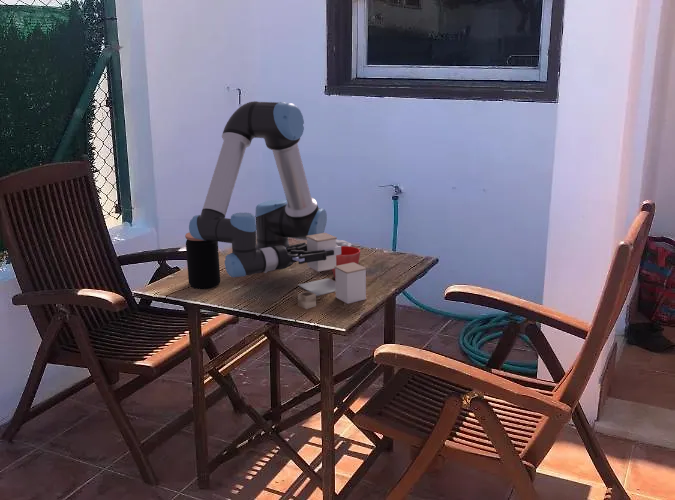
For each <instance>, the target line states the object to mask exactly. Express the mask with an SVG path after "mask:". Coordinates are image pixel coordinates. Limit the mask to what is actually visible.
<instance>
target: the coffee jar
mask: <svg viewBox="0 0 675 500" xmlns="http://www.w3.org/2000/svg"><path fill="white" fill-rule="evenodd" d="M184 237H185V239H186V241H185V253H186V264H187V277H188V285H190V287H191V288H193V289H196V290H210V289H213V288H217V287H218V286H219V284H220V282H221V271H220V270H221V269H220V255H219V254H220V253H219V242H218V241H208V240H206V241H205V240H201V239H196V238H193V237H192V236H191V234H190V232H189V231H188V232H187V233H185V236H184Z"/></svg>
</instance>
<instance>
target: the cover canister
mask: <svg viewBox="0 0 675 500" xmlns="http://www.w3.org/2000/svg"><path fill="white" fill-rule="evenodd" d="M337 237H338V236H334V235H331V234H329V233H327V232H324V233H320V234H314V235H308V236H306V238H307V240H306V244H307V251H318V250H323V249H326V248H331V247H336V240H338V238H337ZM306 266H307V268H310V269H313V270H314V271H316V272H322V271H330V270H329V269H334V266H336V255H335V256H330V257H326V260H321V261H314V262H307V265H306Z"/></svg>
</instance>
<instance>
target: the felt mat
mask: <svg viewBox="0 0 675 500" xmlns="http://www.w3.org/2000/svg"><path fill="white" fill-rule="evenodd" d="M298 287H300V288H302V289H304V290H306V291H309V292H311V293H314V294H316V297H319V296H322V295H326V294H331V293H334V292H335V293H336V285H335V280H333V279H332V278H329V277H328V278H322V279H319V280H312V281H309V282H304V283H300V284H298Z"/></svg>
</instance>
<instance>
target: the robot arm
mask: <svg viewBox="0 0 675 500" xmlns="http://www.w3.org/2000/svg"><path fill="white" fill-rule="evenodd" d="M304 121H305V120H304V115H303V113H302V110H301V109H300V108H299V107H298V106H297V105H296V104H295V103H292V102H285V101H278V102H275V101H273V102H272V101H255V100H254V101H249V102H246V103H244V104H242V105H241V106H240V107H238V108H237V109H236V110H235V111H234V112H233V113H232V114H231V116H230V117H229V119H228V121H226V124H225V125H224V127H223V130H222V134H221V138H222V140H223V142H222V145H221V149H220V151H219V155H218V158H217V161H216V164H215V167H214V170H213V174H212V177H211V180H210V182H209V183H210V184H209V187H208V190H207V194H206V196H205V201H204V204H203V207H202V210H201V212H200V214H198V215H194V216H192V217H191V219H190V221H189V225H188V230H189V231H188V233H189V232H190V234H191V236H192V237H193V238H196V239H201V240H205V241H206V240H208V241H218V243H225V244H227V243H228V244H231V247H232V248H231V250H232V252H230V253H228V254H227V255H225V257H224V259H225V260H224V268H225V271H226V273H227V274H228V276H230V277H231V278H239V277H247V276H251V275H256V274H261V273H262V274H263V273H264V274H267V273H268V272H272V271H275V270H276V271H277V270H283V269H286V268H288V267H289V266H291V265H292V264H294V263H297V262H298V264H299V265H302V264H305V263H307V262H314V261H321V260H326V257H330V256H335V255H341V246H337V247H331V248H326V249H323V250H318V251H307V242H300V243H295V244H292V245H290V243H289V238H291V239H295V240H296V239H298V240H303V241H305V240H306V241H307V238H306V236H308V235H314V234H320V233H325V230H326V227H327V221H328V213H327V210H326V209H324V208H322V207H319V206H318V202H317V200H316V199H315V198H314V197H312V196H311V191H310V188H309V184H308V179H307V176H306V172H305V169H304V164H303V159H302V157H301V156H302V155H301V152H300V149H299V145H298V143H300V141H301V137H302V136H303V134H304V130H305V126H304V124H305V122H304ZM258 138H259V139H263V140H264V142H265V145H266V146H265V147H267V149H269V150H272V153H273V157H274V161H275V164H276V169H277V172H278V174H279V179H280V181H281V185H282V189H283V193H284V196H285V199H273V200H267V201H262V202H260V203H258V204H257V205H256V206H255V215H254V214H253V213H251V212H235V213H233V214H232V215H230V218H227V217H226V215H227V212H228V208H229V205H230V202H231V199H232V195H233V193H234V188H235V185H236V183H237V179H238V176H239V172H240V169H241V165H242V163H243V160H244V155H245V153H246V149H247V148H249V147H250V146H251V143H252V141H253V139H258Z"/></svg>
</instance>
